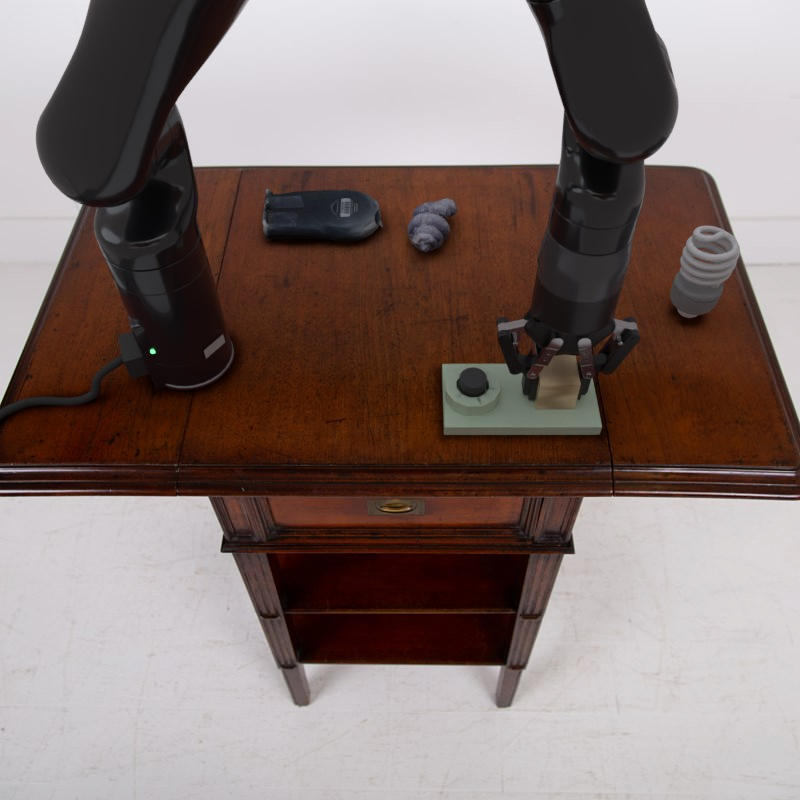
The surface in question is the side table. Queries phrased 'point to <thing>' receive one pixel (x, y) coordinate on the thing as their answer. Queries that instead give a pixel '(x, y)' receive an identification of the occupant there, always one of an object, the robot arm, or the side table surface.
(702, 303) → the light bulb
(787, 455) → the side table surface
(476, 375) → the button
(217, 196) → the side table surface
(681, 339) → the side table surface
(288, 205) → the electronic device
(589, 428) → the pale green flat block
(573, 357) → the block
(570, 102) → the robot arm
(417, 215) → the seashell
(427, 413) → the side table surface
